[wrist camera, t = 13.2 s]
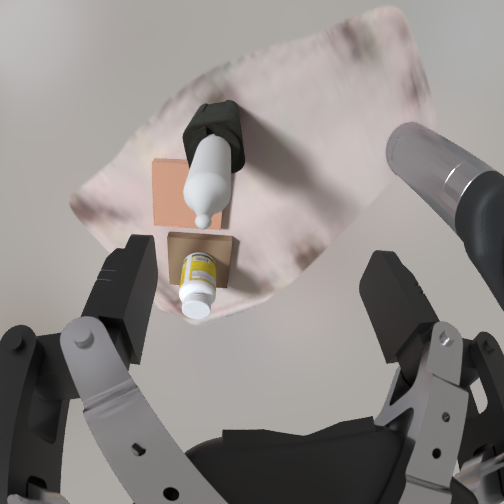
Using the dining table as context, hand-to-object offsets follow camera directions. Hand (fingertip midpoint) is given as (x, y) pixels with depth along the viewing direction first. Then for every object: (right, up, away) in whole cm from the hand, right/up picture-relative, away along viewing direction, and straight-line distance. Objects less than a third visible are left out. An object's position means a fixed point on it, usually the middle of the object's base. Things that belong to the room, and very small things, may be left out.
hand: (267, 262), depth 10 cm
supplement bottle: (-9, -1, +36) cm, 37 cm away
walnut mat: (-9, -1, +37) cm, 38 cm away
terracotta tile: (-9, +9, +30) cm, 32 cm away
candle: (-5, +17, +24) cm, 30 cm away
